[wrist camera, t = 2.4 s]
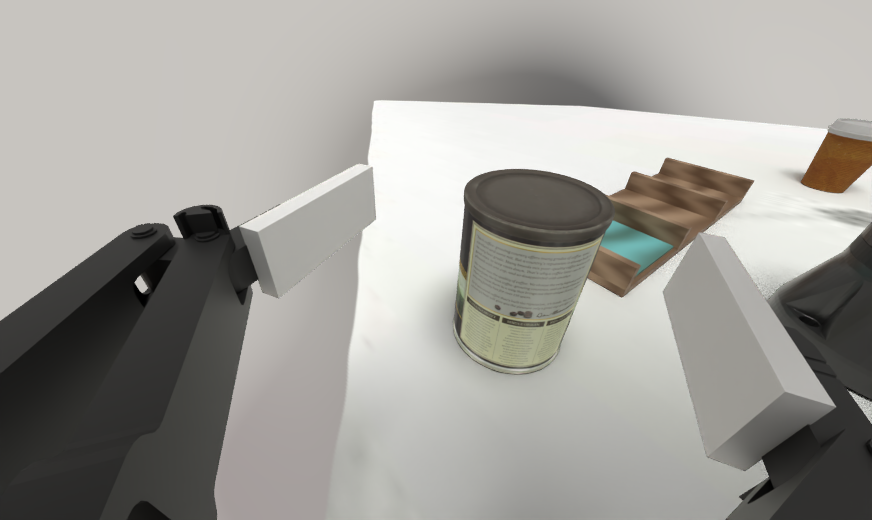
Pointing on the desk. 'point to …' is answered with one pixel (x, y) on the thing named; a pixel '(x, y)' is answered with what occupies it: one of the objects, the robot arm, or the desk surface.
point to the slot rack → (661, 220)
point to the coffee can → (524, 264)
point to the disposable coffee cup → (841, 156)
